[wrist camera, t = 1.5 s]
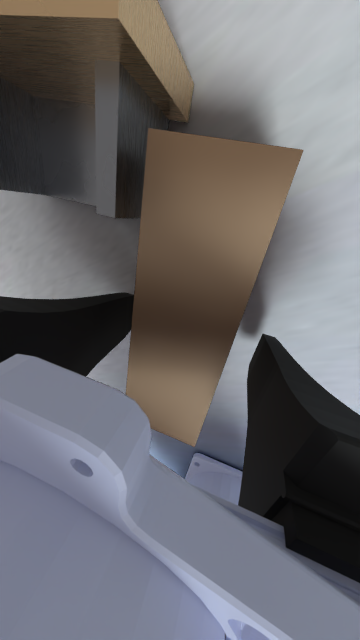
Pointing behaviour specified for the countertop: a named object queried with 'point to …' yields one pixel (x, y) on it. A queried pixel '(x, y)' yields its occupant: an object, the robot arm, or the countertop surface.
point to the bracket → (86, 98)
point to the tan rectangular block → (198, 266)
